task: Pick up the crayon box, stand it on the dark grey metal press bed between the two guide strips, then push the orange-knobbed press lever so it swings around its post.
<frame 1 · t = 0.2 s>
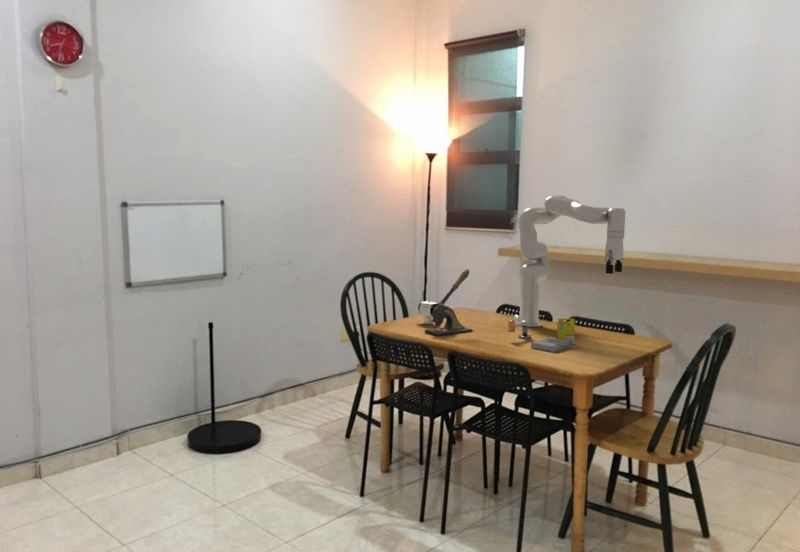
hand: (613, 272, 301), 31 cm above the table, tool pointing down, fingers open, 9 cm apart
crayon box: (565, 344, 292), on the table
embossing press: (449, 332, 316), on the table
lever post: (524, 337, 305), on the table
press lever: (518, 324, 300), point 7 cm above the table, hinge at 0.0°
press bed: (551, 347, 284), on the table
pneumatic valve: (428, 324, 336), on the table
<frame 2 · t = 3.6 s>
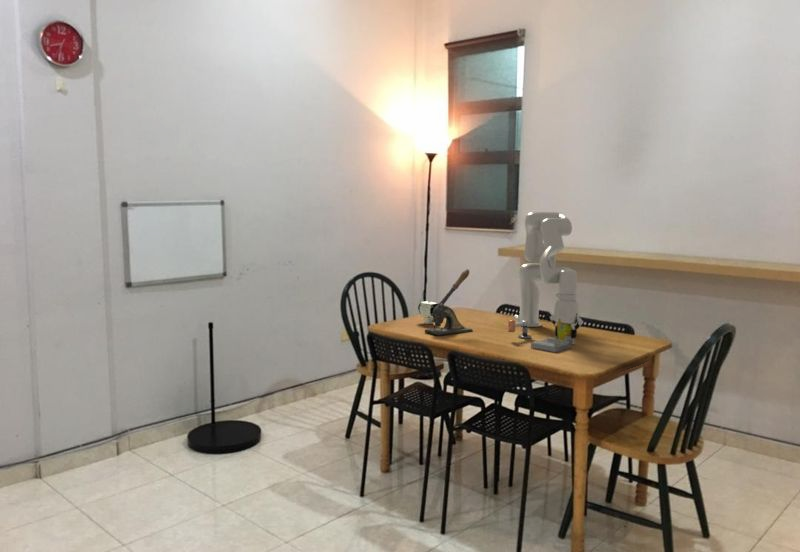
hand: (565, 336, 292), 3 cm above the table, tool pointing down, fingers closed on crayon box, 7 cm apart
crayon box: (565, 344, 292), on the table, touching gripper
everything else where it was.
when the fingers open (6 cm above the table, at t = 9.1 s): crayon box stays where it is, resting on press bed.
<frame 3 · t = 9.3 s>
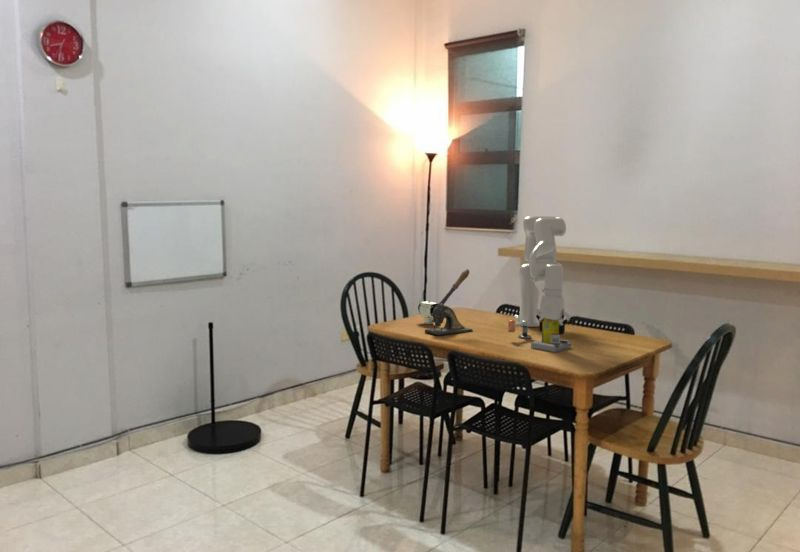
hand: (551, 332, 283), 7 cm above the table, tool pointing down, fingers open, 9 cm apart
crayon box: (550, 343, 284), point 2 cm above the table, touching press bed
everything else where it was.
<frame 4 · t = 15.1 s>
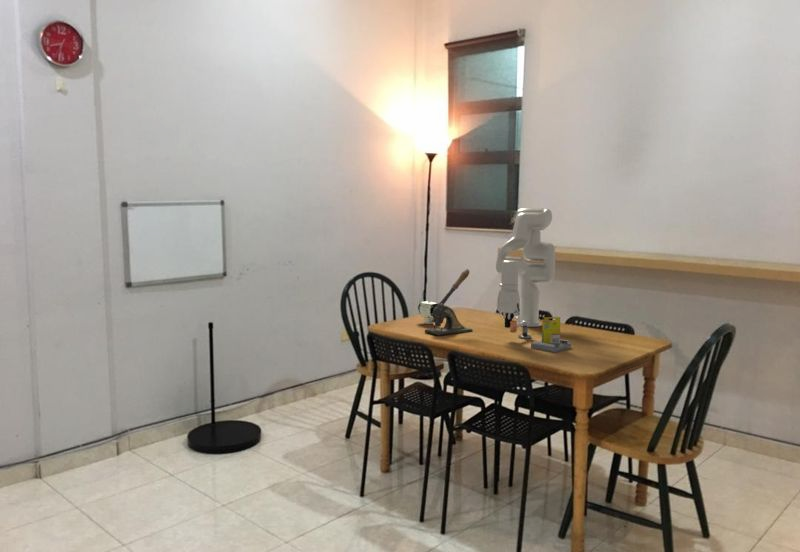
hand: (508, 327, 299), 6 cm above the table, tool pointing down, fingers closed
press lever: (519, 324, 300), point 7 cm above the table, hinge at 5.0°, touching gripper
everything else where it was.
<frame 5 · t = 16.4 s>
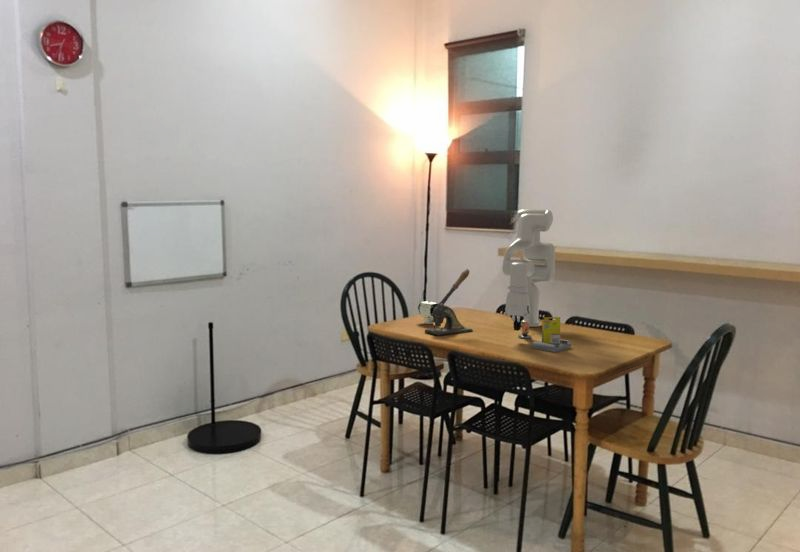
hand: (517, 329, 296), 5 cm above the table, tool pointing down, fingers closed
press lever: (525, 325, 299), point 7 cm above the table, hinge at 34.1°, touching gripper
everything else where it was.
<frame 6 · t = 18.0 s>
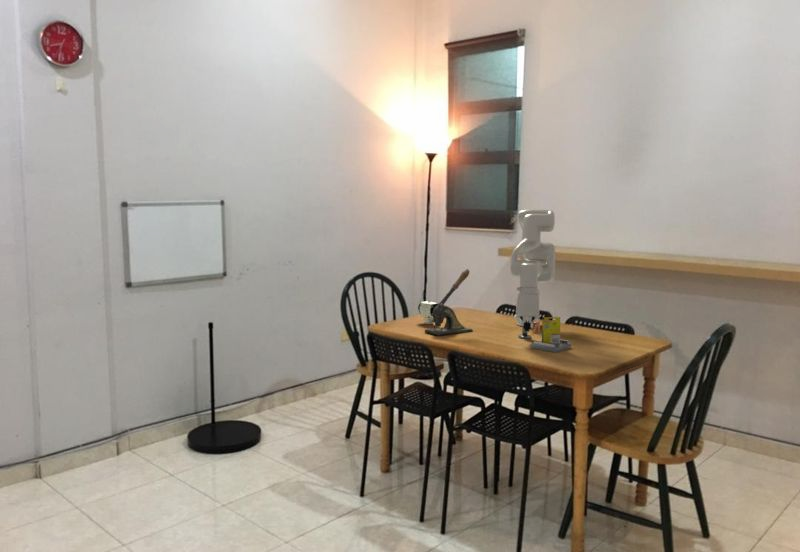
hand: (527, 330, 294), 5 cm above the table, tool pointing down, fingers closed
press lever: (530, 325, 299), point 7 cm above the table, hinge at 60.2°, touching gripper
everything else where it was.
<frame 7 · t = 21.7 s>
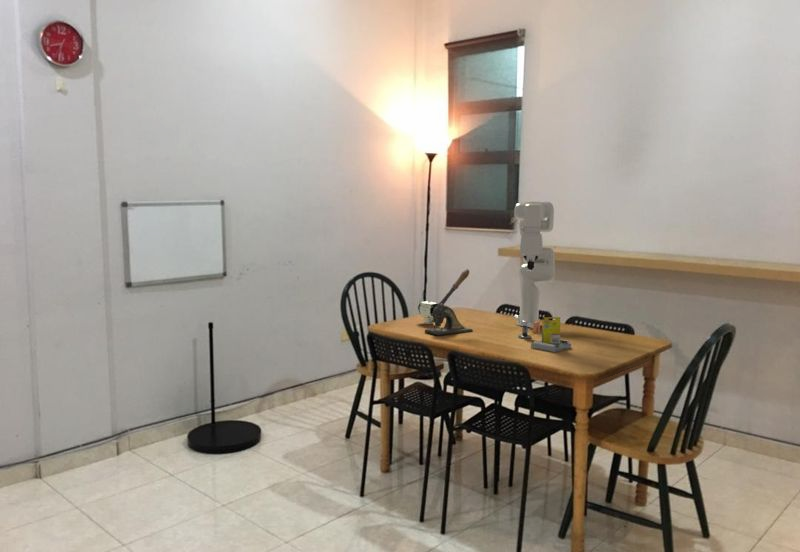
hand: (530, 269, 307), 31 cm above the table, tool pointing down, fingers closed
press lever: (530, 325, 299), point 7 cm above the table, hinge at 60.4°
everything else where it was.
at the end: crayon box 0.4 cm from the press bed (horizontally); crayon box tilted 0°; press lever at +60° (first picture: +0°) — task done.
